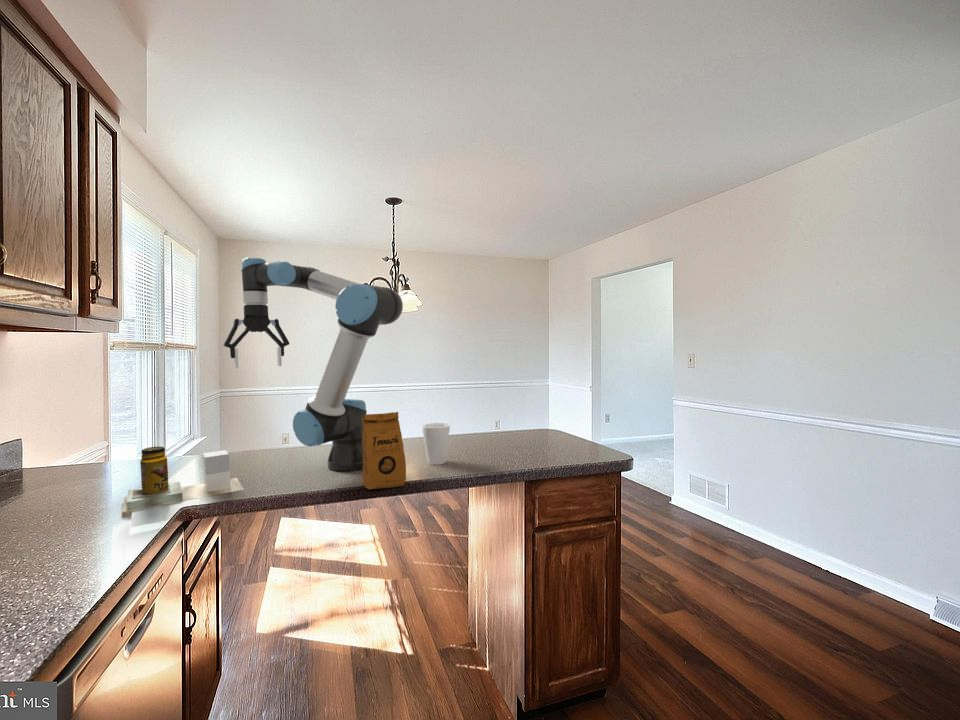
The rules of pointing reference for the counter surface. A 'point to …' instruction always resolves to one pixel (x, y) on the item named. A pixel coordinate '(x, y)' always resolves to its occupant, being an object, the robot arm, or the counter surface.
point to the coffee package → (383, 451)
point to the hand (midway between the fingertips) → (258, 367)
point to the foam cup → (436, 442)
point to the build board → (192, 494)
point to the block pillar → (216, 470)
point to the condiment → (153, 473)
